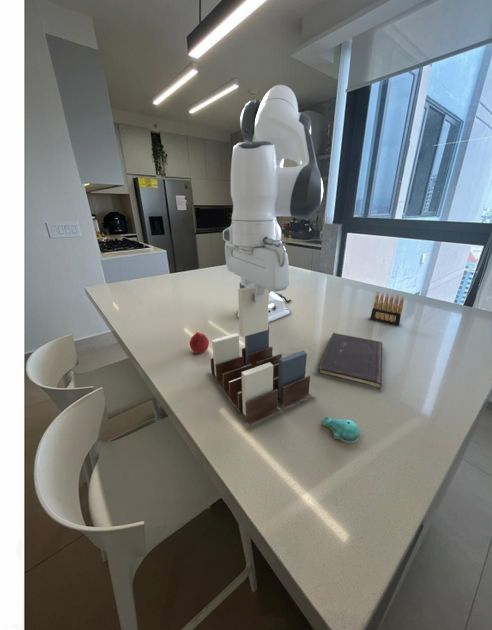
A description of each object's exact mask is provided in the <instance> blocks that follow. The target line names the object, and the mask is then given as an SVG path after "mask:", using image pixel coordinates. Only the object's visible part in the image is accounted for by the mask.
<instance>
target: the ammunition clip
mask: <svg viewBox="0 0 492 630" xmlns="http://www.w3.org/2000/svg"><path fill="white" fill-rule="evenodd" d="M384 295H385V294H384V292H382V293H381V294H380V292H379V291H377V292H376V294H375V296H374V301H373V304H372V310H371V313H370V317H369V320H370V321H375V322H379V323H383V324H386V325H387V324H388V325H391V326H396V327H399V326H400V324H401V317H402V312H403V309H404V302H405V295H402V296H401V297H400V300H399V295H398V294H396V296H395V299H394V293H392V294H391V296H390V298H389V293H388V292H387V293H386V295H385V296H384ZM384 297H385V298H384Z"/></svg>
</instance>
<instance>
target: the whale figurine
mask: <svg viewBox="0 0 492 630" xmlns="http://www.w3.org/2000/svg"><path fill="white" fill-rule="evenodd" d="M321 425H322V426H323V427H326V428H329V429H330V430H331V431H332V433H333V435H332V437H333V439H335V440H340V441H341V442H343V443H346V444H354V443H356V442H357V441H358V440H359V439H360V428H359V427H358V424H357V423H355V422H354V421H353V420H351V419H346V418H345V419H339V418H338V419H337V418H336V419H332V417H331V416H326V418H325V420H324V421H322V423H321Z"/></svg>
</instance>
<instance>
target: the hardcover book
mask: <svg viewBox="0 0 492 630" xmlns="http://www.w3.org/2000/svg"><path fill="white" fill-rule="evenodd" d="M318 370H319V373H322V374H324V375H325V374H326V375H330V376H334V377H338V378H341V379H346V380H349V381H354V382H359V383H361V384H362V383H363V384H367V385H371V386H373V387H374V388H376V389H377V390H381V389H382V386H383V342H382V341H379V340H373V339H369V338H364V337H358V336H353V335H352V336H351V335H347V334H342V333H335V332H333V333H332V334H331V337H330V339H329V342H328V345H327V347H326V350H325V352H324V355H323V357H322V359H321V362H320V364H319V367H318Z"/></svg>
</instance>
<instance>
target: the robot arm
mask: <svg viewBox="0 0 492 630" xmlns="http://www.w3.org/2000/svg"><path fill="white" fill-rule="evenodd" d="M239 127H240V133H241V137H242V138H243V139H244V140H246V141H240V142H238V143H236V144H235V145H233V148H232V153H231V162H230V198H231V201H232V214H231V224H230V226H228V227H227V228H224V230H222V240H223V241H224V242H225V243H224V257H225V265H226V269H227V271H228V272H229V273H232V274H234V275H236V276H238V277H239V280H240V281H239V289H241V288H247V287H252V286H255V288H256V290H255V293H254V294H252V295H253V301H254V302H256V303H260V302H262V301H263V294H264V292H265V290H266V289H267V290H269V311H268V323H271V322H273V321H275V320H278V319H280V318H283V317H285V316H287V315H288V316H289V315H290V312H291V311H290V309H289V308H288V307H286V306H285V302H286V303H290V302H292V299H287V298H286V297H285V296H284V295H282V294H280V293H278V292H282V291H285V290H287V288H288V287H289V285H290V264H289V257H288V254H287V249H286V247H285V245H284V244H283V242H282V241H281V240H282V229H281V226H280V225H279V223H278V220H277V217H291V218H298V219H308V218H309V217H311V216H312V215H314V214H315V213H316V212H317V211H318V210H319V209H320V208H321V204H322V201H323V196H324V184H323V179H322V174H321V172H320V169H319V167H318V162H317V157H316V154H315V153H316V152H315V146H314V143H313V138H312V120H311V117H310V116H309V115H308V114H306V113H304V112H302V111H300V112H299V106H298V99H297V97H296V94H295V92H294V91H293V90H292V89H291V88H290V87H289V86H287V85H285V84H277V85H274V86H273V87H271V88H270V89H268V91H267V92H266V93H265V95H264V96H263V98H262V100H259V98H257V99H254V100H252V99H251V100H249V101H248V102H246V103H245V105H244V108H243V109H242V111H241V113H240V118H239ZM285 160H289V161H292V162H294V163H296V164H297V165H296V166H284V161H285ZM237 317H238V318H239V311H238V312H237Z"/></svg>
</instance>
